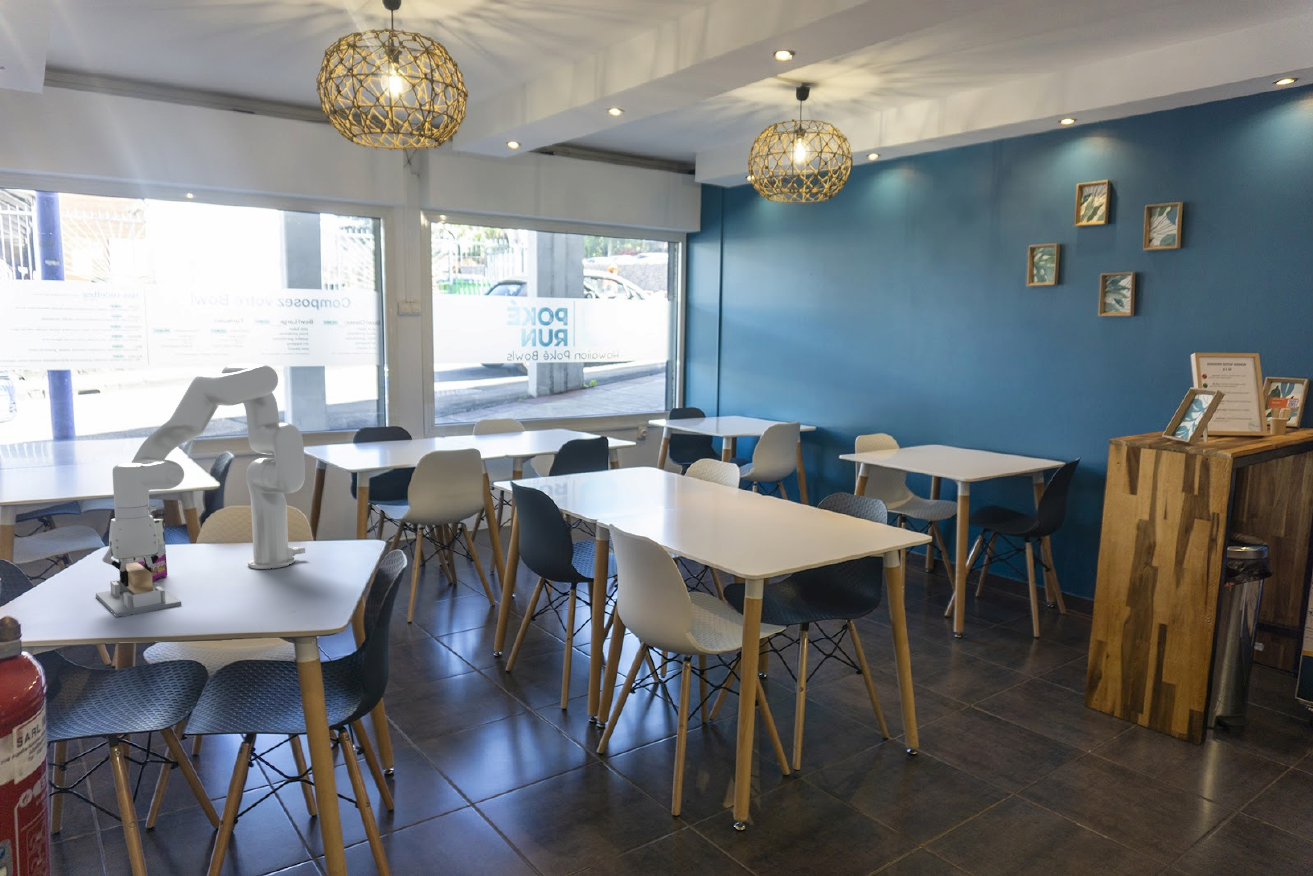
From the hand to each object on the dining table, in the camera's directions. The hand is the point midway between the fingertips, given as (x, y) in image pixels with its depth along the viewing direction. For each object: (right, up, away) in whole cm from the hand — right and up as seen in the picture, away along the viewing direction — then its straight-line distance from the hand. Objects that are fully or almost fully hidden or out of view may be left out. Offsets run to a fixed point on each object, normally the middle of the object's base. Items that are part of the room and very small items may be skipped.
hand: (136, 583), depth 217 cm
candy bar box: (-9, -3, +19) cm, 21 cm away
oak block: (0, -1, 0) cm, 1 cm away
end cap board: (0, -5, +1) cm, 5 cm away
